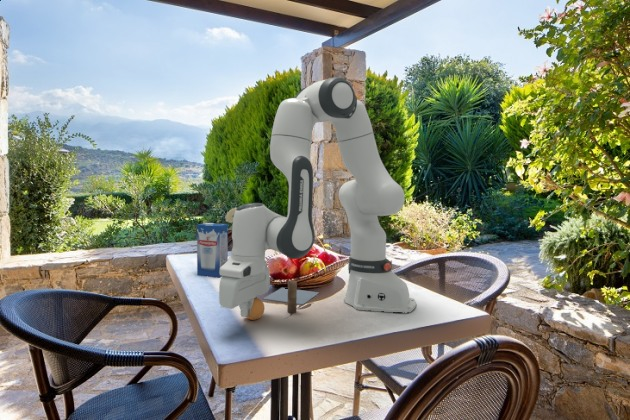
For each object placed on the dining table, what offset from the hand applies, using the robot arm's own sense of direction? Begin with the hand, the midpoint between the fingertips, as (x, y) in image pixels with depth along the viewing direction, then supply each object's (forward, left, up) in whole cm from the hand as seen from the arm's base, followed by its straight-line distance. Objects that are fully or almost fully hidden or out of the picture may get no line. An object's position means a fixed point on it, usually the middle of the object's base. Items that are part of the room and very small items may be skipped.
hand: (245, 315), depth 108 cm
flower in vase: (+42, -63, -3) cm, 76 cm away
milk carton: (+40, -40, -3) cm, 56 cm away
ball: (0, -4, +1) cm, 4 cm away
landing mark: (0, -28, -2) cm, 28 cm away
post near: (-7, -14, -2) cm, 16 cm away
